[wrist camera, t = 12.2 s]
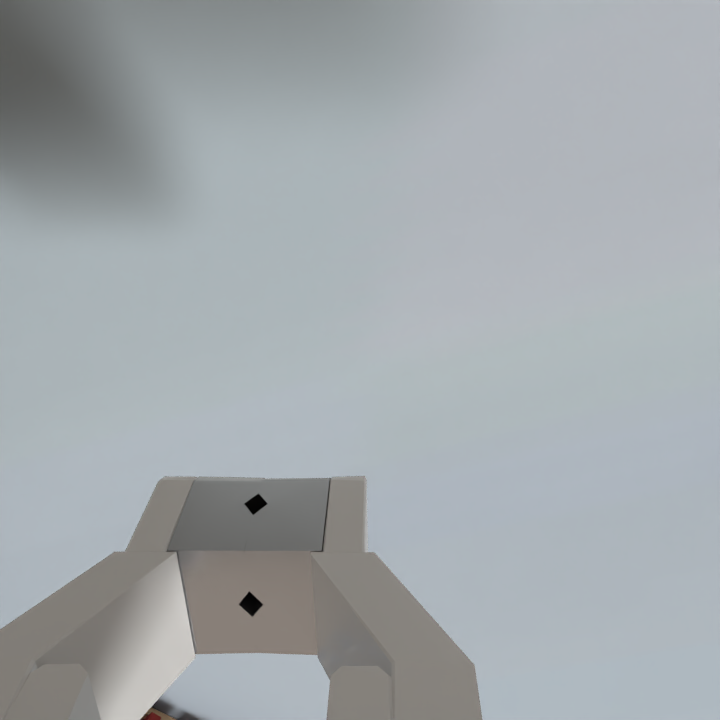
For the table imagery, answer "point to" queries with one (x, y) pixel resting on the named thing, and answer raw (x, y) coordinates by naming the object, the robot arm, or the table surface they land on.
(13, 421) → the table surface
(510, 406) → the table surface
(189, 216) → the table surface
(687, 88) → the table surface
